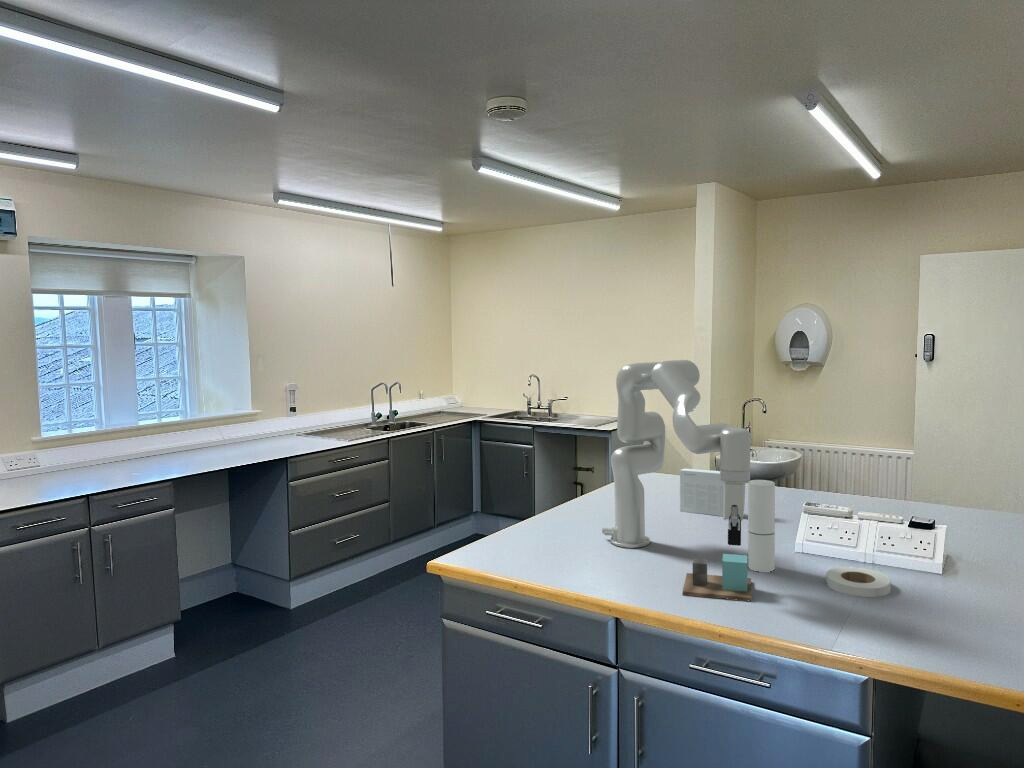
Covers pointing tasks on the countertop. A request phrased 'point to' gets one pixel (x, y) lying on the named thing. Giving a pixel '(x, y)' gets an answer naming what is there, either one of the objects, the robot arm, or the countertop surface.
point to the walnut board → (710, 584)
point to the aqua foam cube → (734, 572)
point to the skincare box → (701, 492)
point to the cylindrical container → (761, 525)
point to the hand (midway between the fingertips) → (734, 539)
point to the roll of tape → (844, 576)
